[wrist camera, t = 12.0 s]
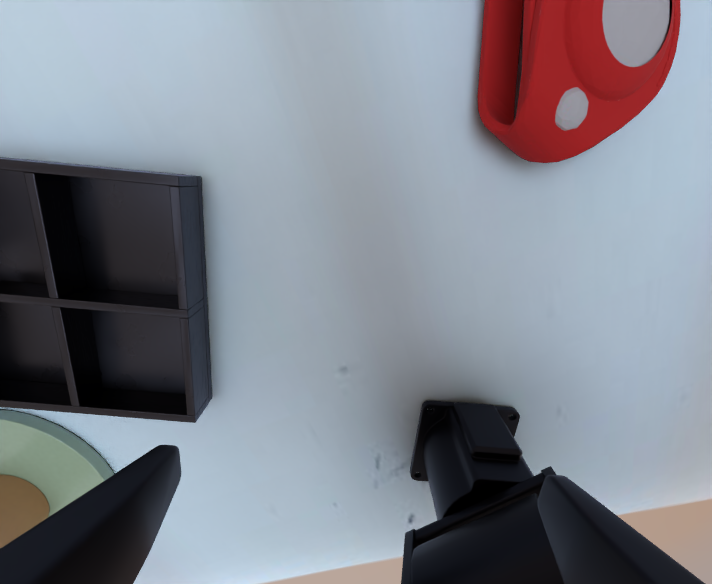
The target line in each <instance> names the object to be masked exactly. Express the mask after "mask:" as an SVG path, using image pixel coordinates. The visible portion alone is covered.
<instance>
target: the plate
mask: <svg viewBox="0 0 712 584" xmlns="http://www.w3.org/2000/svg"><path fill="white" fill-rule="evenodd" d="M0 475H11V476H15V477H18V478H21V479H24V480H26V481H28V482H30V483H31V484H33V485H34V486H36V487H37V488H38V489H39V490H40V491H41V492H42V493H43V494H44V496H45V497H46V499H47V501H48V503H49V515H48V517H49V516H51V515H53V514H54V513H56V512H57V511H59V510H60V509H62V508H63V507H65V506H66V505H68V504H69V503H71V502H73V501H74V500H76V499H77V498H79V497H80V496H82V495H83V494H85V493H86V492H88V491H89V490H91V489H92V488H94V487H96V486H97V485H99V484H100V483H102V482H103V481H105V480H106V479H108V478H109V477H111V476H112V475H114V473H113V471H112V469H111V468H110V467H109V466H108V464H107V463H106V462H105V460H104V459H103V458H102V457H101V456H100V455H99V454H98V453H97V452H96V451H95V450H94V449H93V448H92V447H90V446H89V445H88V444H87V443H86V442H84V441H83V440H82V439H80V438H79V437H77V436H76V435H74V434H73V433H71V432H69V431H68V430H66V429H64V428H62V427H60V426H58V425H56V424H54V423H52V422H49V421H47V420H45V419H42V418H39V417H36V416H33V415H29V414H25V413H21V412H16V411H9V410H0ZM48 517H47V518H48Z"/></svg>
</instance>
